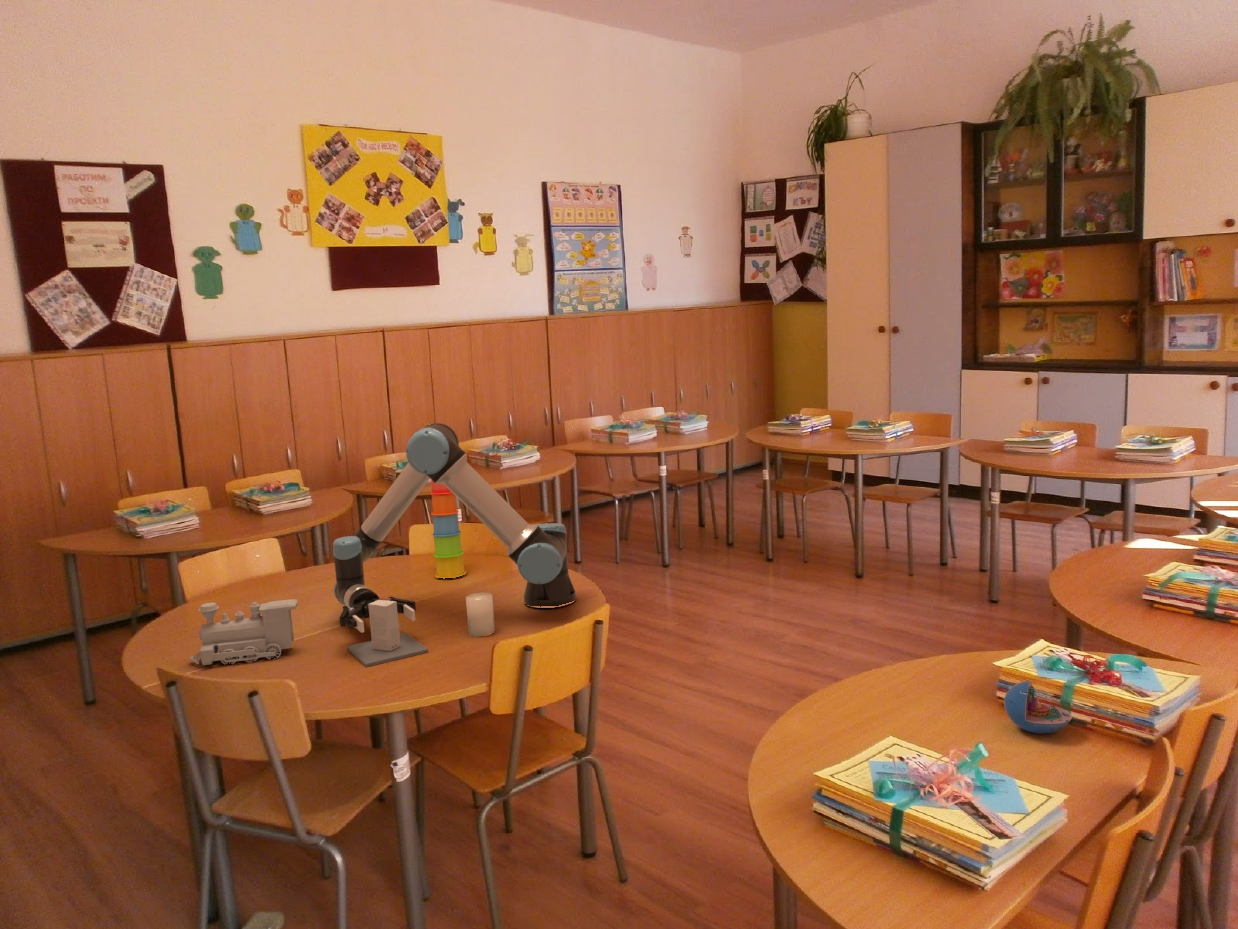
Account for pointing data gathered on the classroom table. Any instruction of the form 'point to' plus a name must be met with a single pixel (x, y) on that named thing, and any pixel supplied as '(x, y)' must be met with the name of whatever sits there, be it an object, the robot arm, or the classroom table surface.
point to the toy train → (246, 633)
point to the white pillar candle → (480, 614)
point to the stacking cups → (446, 533)
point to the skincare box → (384, 625)
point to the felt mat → (376, 656)
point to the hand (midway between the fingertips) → (388, 621)
